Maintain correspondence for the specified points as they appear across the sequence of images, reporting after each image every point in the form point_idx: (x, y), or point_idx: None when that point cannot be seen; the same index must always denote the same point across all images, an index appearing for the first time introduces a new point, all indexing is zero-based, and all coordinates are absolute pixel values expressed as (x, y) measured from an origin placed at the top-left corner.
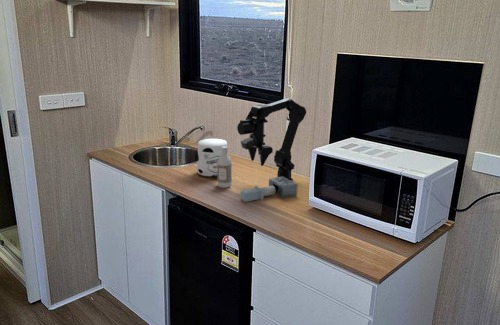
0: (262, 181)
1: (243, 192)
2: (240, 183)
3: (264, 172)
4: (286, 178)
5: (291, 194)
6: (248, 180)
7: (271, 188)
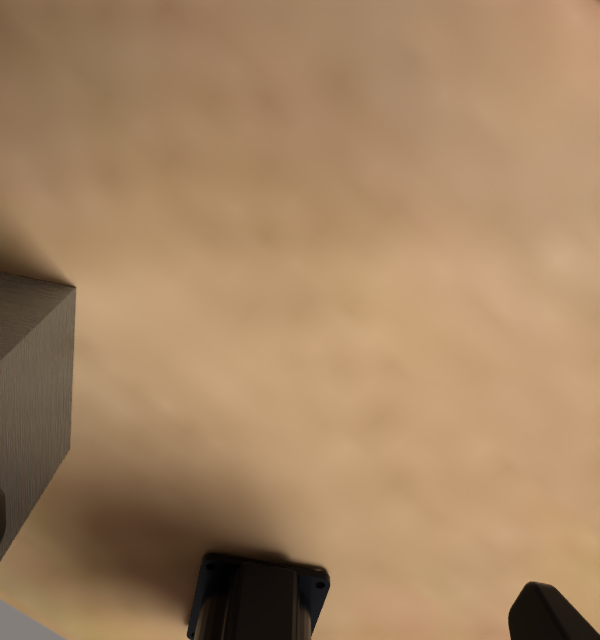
0: (363, 430)
1: None
2: (528, 182)
3: None
4: None
5: None
6: (516, 340)
7: None
